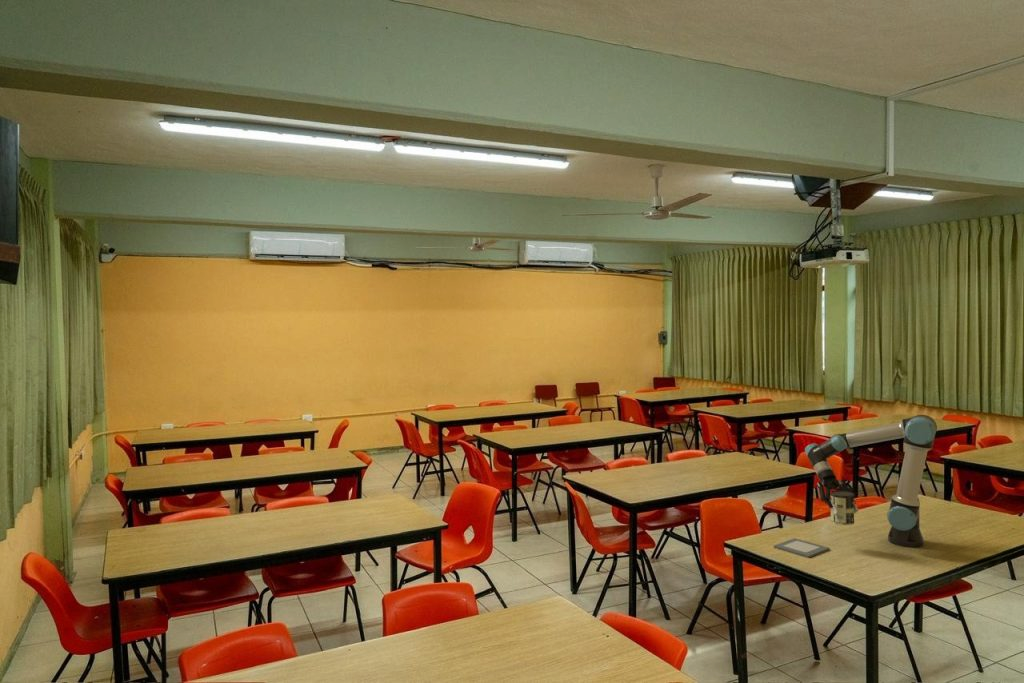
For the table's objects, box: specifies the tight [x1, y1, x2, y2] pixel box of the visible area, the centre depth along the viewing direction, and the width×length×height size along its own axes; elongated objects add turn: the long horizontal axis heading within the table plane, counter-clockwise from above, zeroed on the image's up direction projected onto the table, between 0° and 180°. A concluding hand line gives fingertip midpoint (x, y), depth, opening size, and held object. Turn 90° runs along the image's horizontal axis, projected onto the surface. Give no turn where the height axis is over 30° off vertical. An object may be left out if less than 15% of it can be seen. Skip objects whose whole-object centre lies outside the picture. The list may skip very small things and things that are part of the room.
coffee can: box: [830, 490, 855, 526], centre depth 318 cm, size 10×10×14 cm
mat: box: [773, 537, 831, 559], centre depth 319 cm, size 18×18×1 cm
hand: (846, 512), depth 315 cm, fingers closed on coffee can, 10 cm apart
